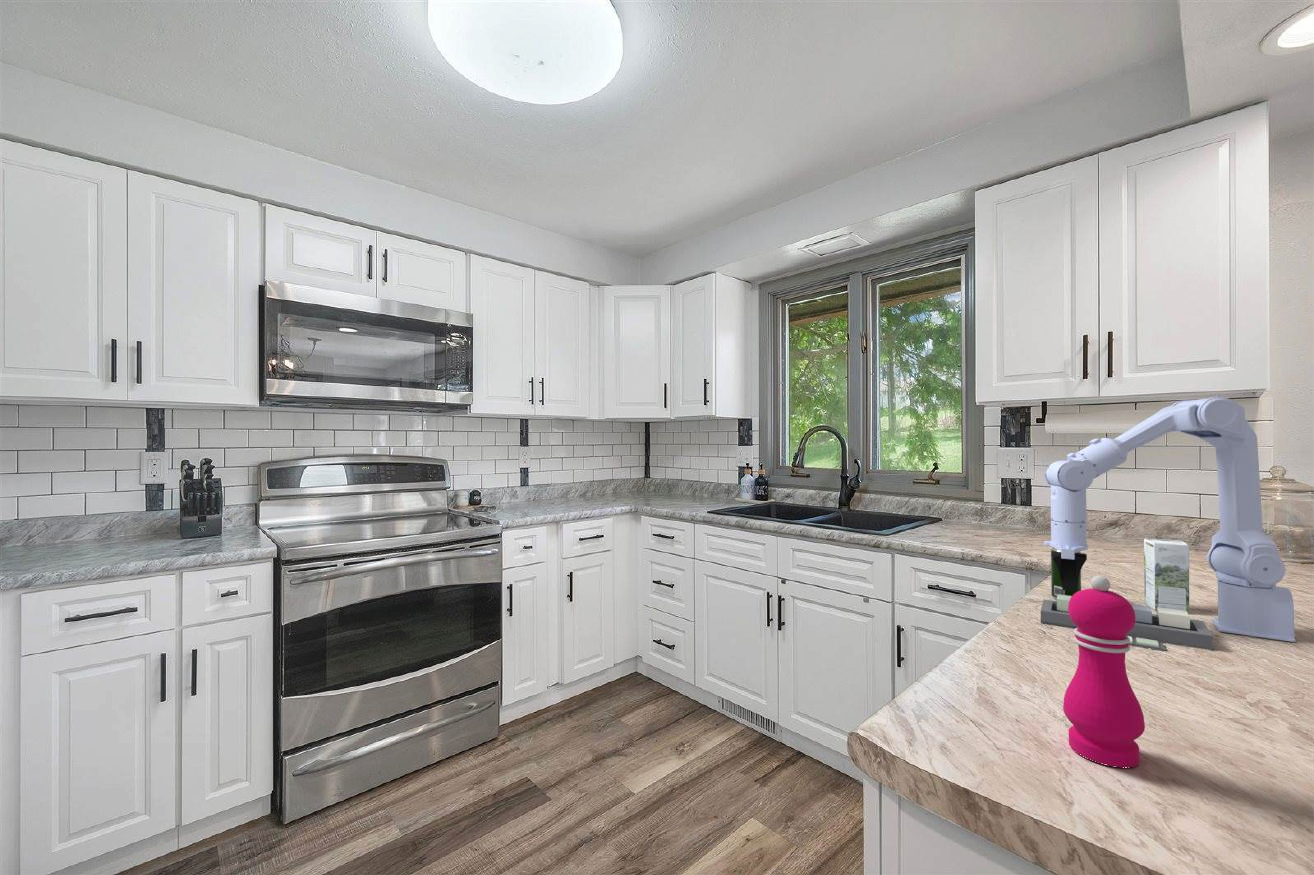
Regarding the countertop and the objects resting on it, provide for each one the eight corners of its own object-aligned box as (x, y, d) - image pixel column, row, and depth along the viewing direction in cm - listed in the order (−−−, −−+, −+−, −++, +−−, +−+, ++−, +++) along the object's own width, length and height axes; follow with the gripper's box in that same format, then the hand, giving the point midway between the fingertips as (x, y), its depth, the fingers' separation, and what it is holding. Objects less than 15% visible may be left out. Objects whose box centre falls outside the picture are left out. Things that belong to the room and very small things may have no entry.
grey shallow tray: (1203, 634, 102) (1203, 621, 102) (1213, 650, 94) (1213, 636, 94) (1043, 610, 116) (1043, 599, 116) (1040, 623, 108) (1040, 610, 108)
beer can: (1075, 604, 121) (1074, 549, 121) (1047, 599, 125) (1046, 545, 125) (1085, 600, 124) (1084, 546, 124) (1057, 595, 128) (1056, 543, 128)
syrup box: (1178, 607, 119) (1177, 538, 119) (1190, 614, 113) (1189, 543, 114) (1144, 603, 121) (1143, 537, 121) (1154, 611, 116) (1153, 541, 116)
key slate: (1150, 618, 104) (1149, 606, 104) (1152, 623, 101) (1151, 611, 101) (1122, 614, 106) (1121, 602, 106) (1123, 619, 103) (1123, 607, 103)
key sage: (1082, 608, 110) (1082, 597, 110) (1082, 613, 107) (1082, 602, 107) (1057, 605, 112) (1057, 594, 112) (1056, 609, 109) (1056, 598, 109)
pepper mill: (1048, 738, 66) (1045, 569, 66) (1104, 735, 67) (1101, 568, 67) (1101, 774, 59) (1098, 584, 59) (1164, 770, 60) (1160, 583, 60)
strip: (1162, 645, 96) (1162, 640, 96) (1164, 651, 93) (1164, 647, 94) (1082, 632, 103) (1082, 628, 103) (1082, 637, 100) (1082, 633, 100)
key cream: (1186, 623, 101) (1186, 611, 101) (1190, 629, 98) (1189, 616, 98) (1157, 619, 103) (1156, 607, 103) (1159, 624, 100) (1159, 612, 100)
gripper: (1045, 515, 118) (1046, 579, 118) (1041, 523, 107) (1042, 594, 106) (1087, 518, 114) (1088, 585, 114) (1088, 526, 102) (1089, 600, 102)
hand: (1069, 590), depth 110 cm, fingers closed
